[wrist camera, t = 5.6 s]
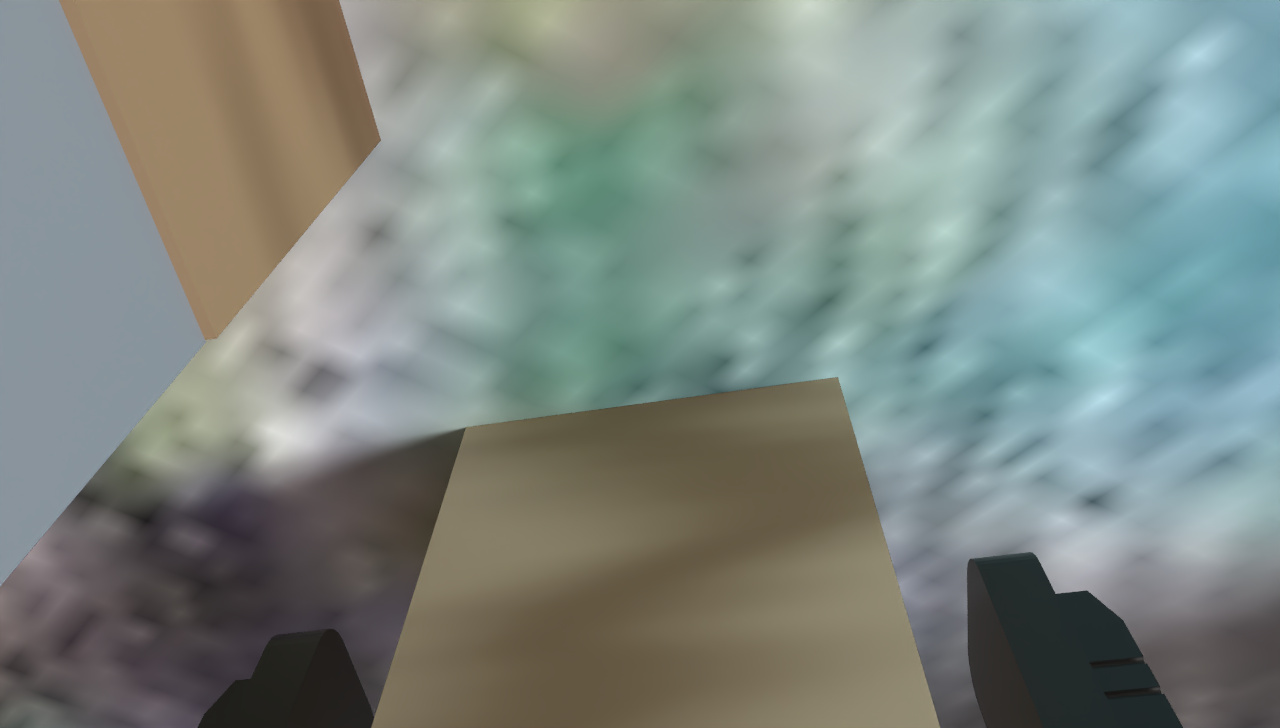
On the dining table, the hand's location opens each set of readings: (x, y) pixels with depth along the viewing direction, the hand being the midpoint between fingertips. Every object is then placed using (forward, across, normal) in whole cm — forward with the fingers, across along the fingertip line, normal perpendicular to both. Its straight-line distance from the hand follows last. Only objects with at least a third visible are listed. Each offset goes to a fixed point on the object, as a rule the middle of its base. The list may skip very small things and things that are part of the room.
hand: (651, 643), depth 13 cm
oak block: (+2, 0, 0) cm, 2 cm away
